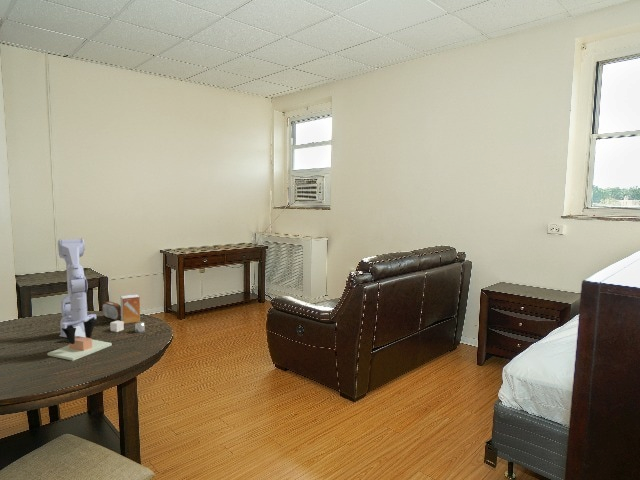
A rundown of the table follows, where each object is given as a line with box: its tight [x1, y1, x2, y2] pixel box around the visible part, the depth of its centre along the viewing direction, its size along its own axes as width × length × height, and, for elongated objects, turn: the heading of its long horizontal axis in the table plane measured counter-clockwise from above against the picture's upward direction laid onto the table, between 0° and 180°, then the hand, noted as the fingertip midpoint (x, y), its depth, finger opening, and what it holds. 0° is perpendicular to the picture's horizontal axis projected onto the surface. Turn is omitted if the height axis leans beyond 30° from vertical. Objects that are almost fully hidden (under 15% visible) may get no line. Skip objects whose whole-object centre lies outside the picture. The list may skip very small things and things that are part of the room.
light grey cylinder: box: [134, 321, 146, 334], centre depth 194 cm, size 4×4×4 cm
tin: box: [101, 300, 121, 321], centre depth 213 cm, size 15×3×8 cm, turn 57°
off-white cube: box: [109, 320, 125, 333], centre depth 195 cm, size 4×4×4 cm
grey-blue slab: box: [73, 326, 86, 337], centre depth 181 cm, size 6×4×2 cm
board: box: [47, 339, 112, 362], centre depth 170 cm, size 14×18×1 cm
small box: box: [119, 293, 141, 325], centre depth 208 cm, size 8×6×13 cm
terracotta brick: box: [68, 336, 93, 351], centre depth 169 cm, size 8×4×4 cm, turn 69°
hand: (80, 340), depth 169 cm, fingers open, 7 cm apart
